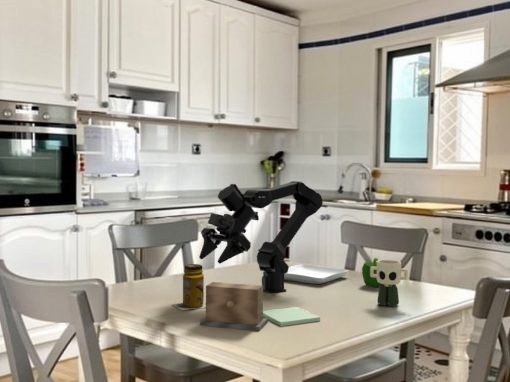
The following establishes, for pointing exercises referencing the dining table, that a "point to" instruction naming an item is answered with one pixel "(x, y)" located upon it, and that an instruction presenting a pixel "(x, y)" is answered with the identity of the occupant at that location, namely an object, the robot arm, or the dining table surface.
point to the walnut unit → (234, 306)
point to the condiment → (192, 288)
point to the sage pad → (290, 316)
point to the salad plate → (313, 274)
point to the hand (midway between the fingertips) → (209, 260)
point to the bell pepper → (366, 274)
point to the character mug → (388, 280)
